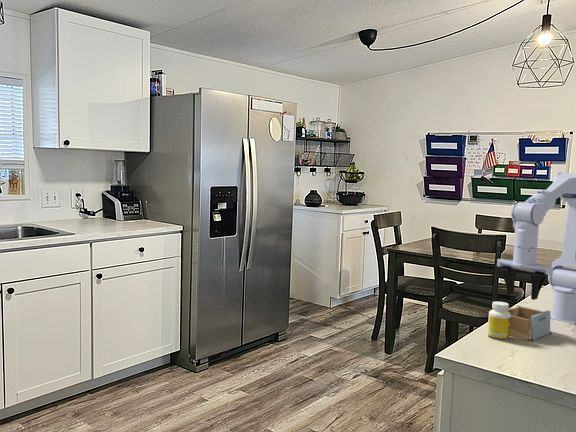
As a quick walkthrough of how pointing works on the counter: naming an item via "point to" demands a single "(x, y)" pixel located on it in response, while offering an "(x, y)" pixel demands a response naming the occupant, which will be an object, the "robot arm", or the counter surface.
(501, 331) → the supplement bottle
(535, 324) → the panel
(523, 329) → the box
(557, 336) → the counter surface
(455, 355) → the counter surface
